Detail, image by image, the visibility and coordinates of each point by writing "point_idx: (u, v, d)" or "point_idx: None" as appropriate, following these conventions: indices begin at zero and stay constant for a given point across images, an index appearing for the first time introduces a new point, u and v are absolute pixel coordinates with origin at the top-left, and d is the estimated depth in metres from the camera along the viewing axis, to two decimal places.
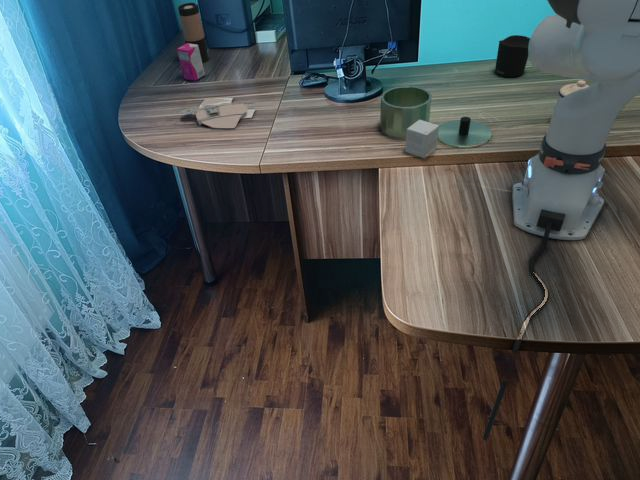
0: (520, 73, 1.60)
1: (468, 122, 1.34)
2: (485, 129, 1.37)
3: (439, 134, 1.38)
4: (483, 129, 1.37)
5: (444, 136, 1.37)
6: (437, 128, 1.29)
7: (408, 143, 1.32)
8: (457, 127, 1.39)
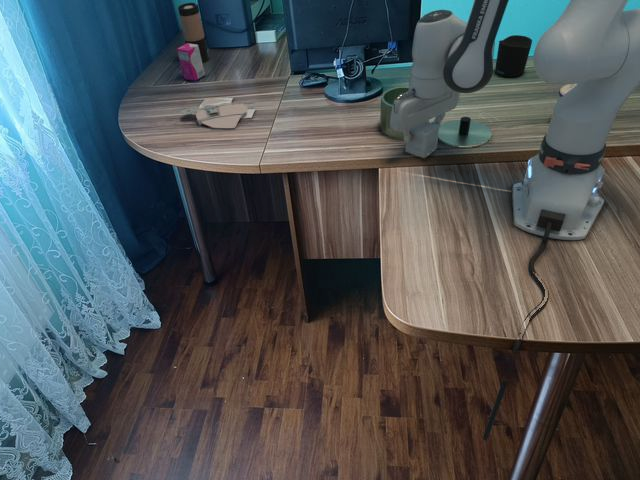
0: (520, 73, 1.60)
1: (468, 122, 1.34)
2: (485, 129, 1.37)
3: (439, 134, 1.38)
4: (483, 129, 1.37)
5: (444, 136, 1.37)
6: (437, 128, 1.29)
7: (408, 143, 1.32)
8: (457, 127, 1.39)
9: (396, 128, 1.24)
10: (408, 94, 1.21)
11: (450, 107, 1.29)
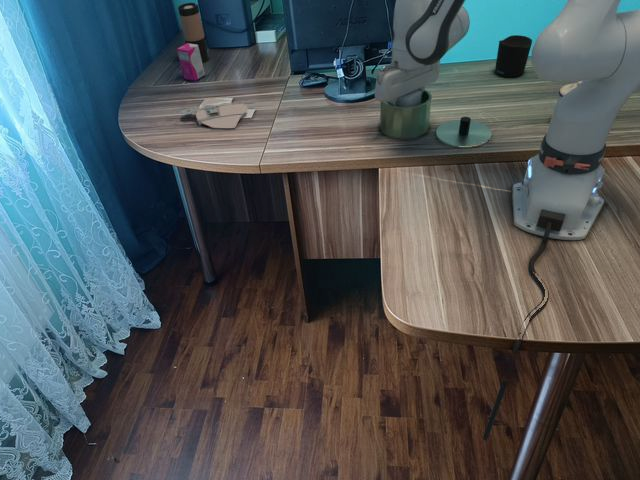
0: (520, 73, 1.60)
1: (468, 122, 1.34)
2: (485, 129, 1.37)
3: (439, 134, 1.38)
4: (483, 129, 1.37)
5: (444, 136, 1.37)
6: (419, 93, 1.37)
7: None
8: (457, 127, 1.39)
9: (381, 99, 1.32)
10: (391, 66, 1.28)
11: (431, 80, 1.37)
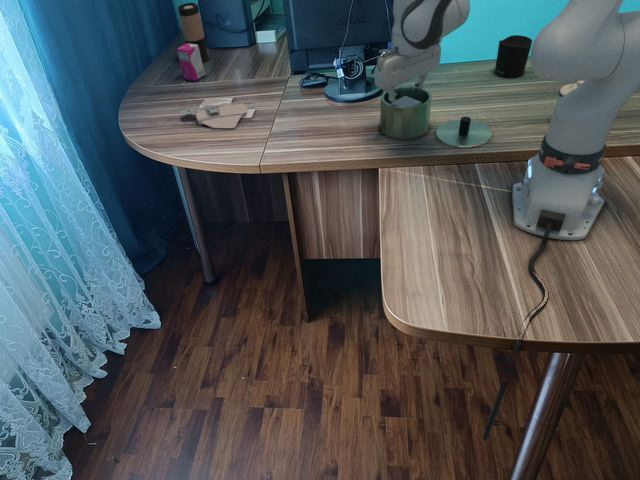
0: (520, 73, 1.60)
1: (468, 122, 1.34)
2: (485, 129, 1.37)
3: (439, 134, 1.38)
4: (483, 129, 1.37)
5: (444, 136, 1.37)
6: (419, 104, 1.39)
7: None
8: (457, 127, 1.39)
9: (381, 86, 1.29)
10: (391, 51, 1.26)
11: (432, 67, 1.35)
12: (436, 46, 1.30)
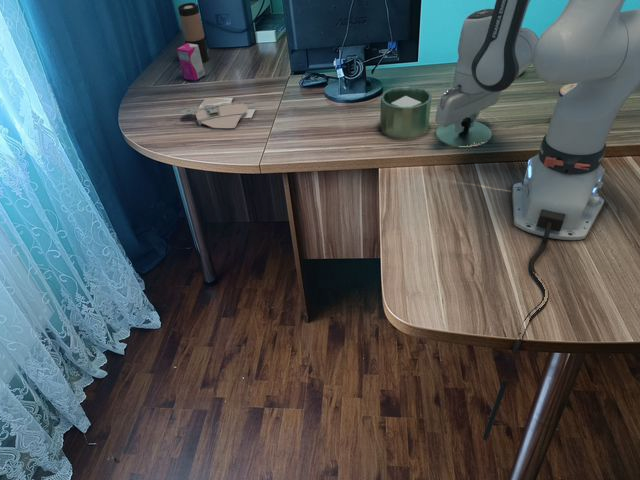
0: None
1: (468, 122, 1.34)
2: (485, 129, 1.37)
3: (439, 134, 1.38)
4: (483, 129, 1.37)
5: (444, 136, 1.37)
6: (419, 104, 1.39)
7: None
8: None
9: (442, 123, 1.29)
10: (454, 90, 1.25)
11: (492, 102, 1.34)
12: None
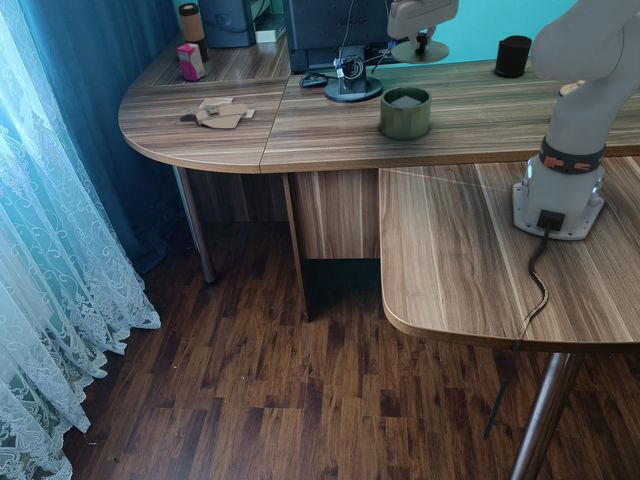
0: (520, 73, 1.60)
1: (424, 37, 1.25)
2: (443, 46, 1.28)
3: (394, 52, 1.29)
4: (440, 47, 1.28)
5: (399, 54, 1.28)
6: (419, 104, 1.39)
7: None
8: None
9: (394, 35, 1.20)
10: None
11: (449, 16, 1.25)
12: None
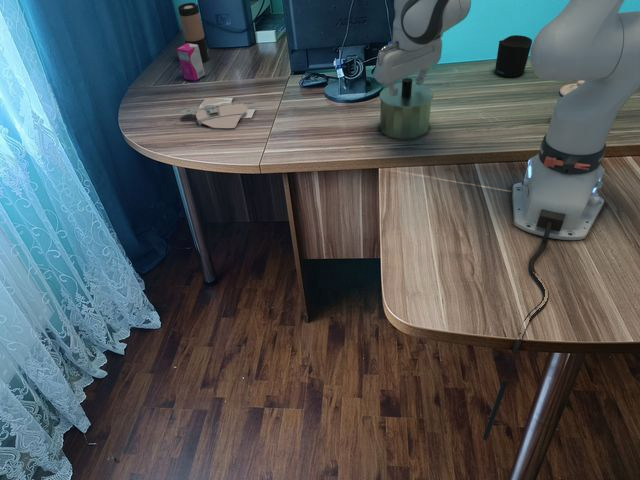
0: (520, 73, 1.60)
1: (409, 83, 1.34)
2: (427, 91, 1.38)
3: (382, 96, 1.38)
4: (425, 91, 1.38)
5: (387, 98, 1.37)
6: None
7: None
8: (401, 89, 1.40)
9: (381, 80, 1.29)
10: (391, 46, 1.25)
11: (433, 62, 1.34)
12: (437, 41, 1.29)
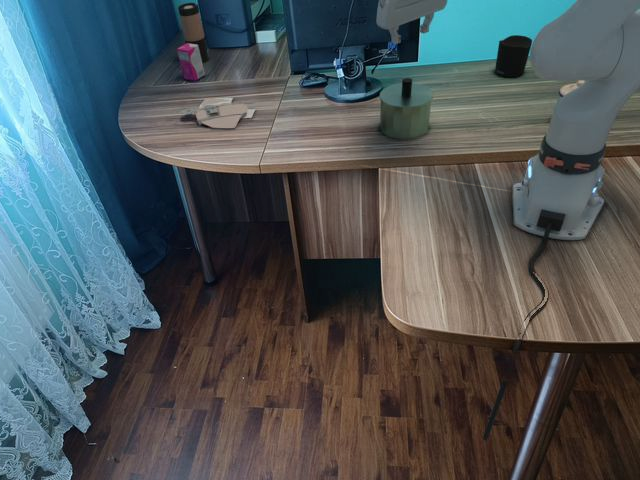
0: (520, 73, 1.60)
1: (409, 83, 1.34)
2: (427, 91, 1.38)
3: (382, 96, 1.38)
4: (425, 91, 1.38)
5: (387, 98, 1.37)
6: None
7: None
8: (401, 89, 1.40)
9: (383, 25, 1.19)
10: None
11: (439, 7, 1.25)
12: None
